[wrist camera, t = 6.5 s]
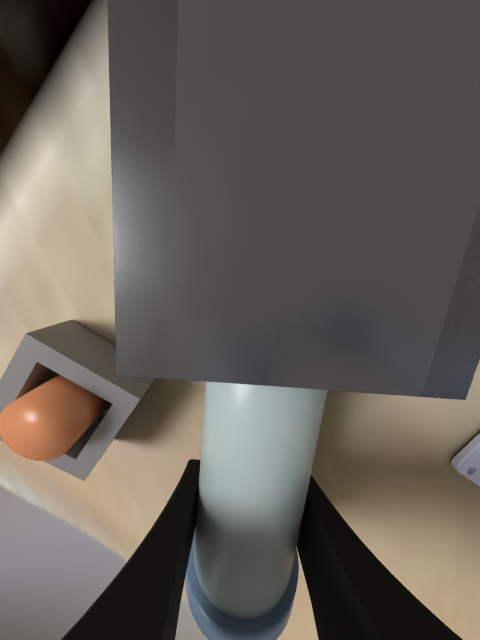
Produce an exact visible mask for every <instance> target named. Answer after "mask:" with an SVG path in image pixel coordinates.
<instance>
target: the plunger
mask: <svg viewBox="0 0 480 640" xmlns="http://www.w3.org/2000/svg"><path fill="white" fill-rule="evenodd" d="M110 404H111V403H110V402H108V401H106V400H105V399H103V398H101V397H99V396H97V395H96V394H94V393H92V392H90V391H88V390H87V389H85V388H83V387H81V386H79V385H78V384H76V383H74V382H72V381H71V380H69V379H67V378H65V377H63V376H62V375H60V374H58V375H57V376H55V377H53V378H52V379H50V380H48V381H47V382H45V383H43V384H42V385H40V386H38V387H37V388H35V389H33V390H32V391H30V392H28V393H27V394H25V395H23V396H22V397H20V398H18V399H17V400H15V401H13V402H12V403H10V404H9V405H7V406H6V407H5V408H4V409H3V411H2V412H1V414H0V436H1V438H2V439H3V441H4V442H5V444H6V445H7V446H8V447H9V448H10V449H11V450H12V451H14V452H15V453H17V454H18V455H20V456H22V457H25V458H28V459H31V460H37V461H47V460H53V459H56V458H58V457H60V456H62V455H63V454H65V453H66V452H67V451H68V450H69V449H70V448H71V447H72V445H73V444H74V443H75V442H76V441H77V440H78V439H79V438H80V437H81V436H82V435H83V433H84V432H85V431H86V430H87V429H88V428H89V427H90V426H91V425H92V424H93V422H94V421H95V420H96V419H97V418H98V417H99V416H100V415H101V414H102V413H103V412H104V410H105V409H106V408H107V407H108V406H109V405H110Z"/></svg>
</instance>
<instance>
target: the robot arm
mask: <svg viewBox="0 0 480 640" xmlns="http://www.w3.org/2000/svg"><path fill="white" fill-rule="evenodd" d="M451 465H452V467H453V468H454V469H455V470H456V471H457V472H459V473H460V474H461V475H463V476H464V477H466V478H467V479H469V480H470V481H472V482H473V483H475V484H476V485H477V486H479V487H480V433H479V434H478V435H477V436H476V437H475V438H474V439H473V440H472V441H470V442H469V443H468V444H467V445H466V446H465V447H464V448H463V449H462V450H461V451H460V452H459V453H458V454H457V455H456V456H455V457H454V458H453V459H452V461H451ZM199 475H200V460H193V459H191V460H189V461H188V463H187V466H186V468H185V471H184V473H183V475H182V477H181V479H180V481H179V483H178V485H177V487H176V489H175V490H174V492H173V494H172V496H171V498H170V499H169V501H168V503H167V505H166V506H165V508H164V509H163V511H162V513H161V514H160V516H159V517H158V519H157V521H156V522H155V524H154V525H153V527H152V528H151V530H150V531H149V533H148V534H147V536H146V537H145V538H144V540H143V541H142V543H141V544H140V545H139V547H138V548H137V550H136V551H135V552H134V554H133V555H132V556H131V558H130V559H129V560H128V562H127V563H126V564H125V566H124V567H123V568H122V569H121V571H120V572H119V573H118V575H117V576H116V577H115V578H114V580H113V581H112V582H111V583H110V585H109V586H108V587H107V588H106V589H105V590H104V592H103V593H102V594H101V595H100V596H99V597H98V599H97V600H96V601H95V602H94V603H93V605H92V606H91V607H90V608H89V609H88V611H87V612H86V613H85V614H84V615H83V616H82V617H81V618H80V620H79V621H78V622H77V623H76V624H75V625H74V626H73V627H72V628H71V630H69V632H68V633H67V634H66V635H65V636H64V637H63V638H62V639H61V640H175V635H176V628H177V621H178V615H179V608H180V602H181V596H182V591H183V585H184V581H185V576H186V571H187V566H188V561H189V557H190V552H191V547H192V542H193V537H194V533H195V528H196V518H197V503H198V489H199ZM297 549H298V553H299V557H300V560H301V564H302V568H303V572H304V575H305V579H306V583H307V587H308V591H309V595H310V599H311V603H312V608H313V613H314V618H315V623H316V628H317V633H318V638H319V640H463V639H461V638H460V637H459V636H458V635H457V634H455V633H454V632H453V631H452V630H451V629H450V628H448V627H447V626H446V625H445V624H444V623H443V622H442V621H441V620H440V619H438V618H437V617H436V616H435V615H434V614H433V613H432V612H431V611H430V610H429V609H427V608H426V607H425V606H424V605H423V604H422V603H421V602H420V601H419V600H418V599H417V598H416V597H415V596H414V595H413V594H412V593H411V592H410V591H409V590H408V589H407V588H406V587H405V586H403V585H402V584H401V583H400V582H399V581H398V580H397V579H396V578H395V577H394V576H393V575H392V574H391V573H390V572H389V571H388V569H387V568H386V567H385V566H384V565H383V564H382V563H381V562H380V561H379V560H378V559H377V558H376V557H375V556H374V554H373V553H372V552H371V551H370V550H369V549H368V548H367V547H366V546H365V544H364V543H363V542H362V541H361V540H360V539H359V537H358V536H357V535H356V534H355V533H354V531H353V530H352V529H351V528H350V527H349V525H348V524H347V523H346V522H345V520H344V519H343V518H342V516H341V515H340V514H339V513H338V511H337V510H336V509H335V507H334V506H333V505H332V503H331V502H330V501H329V499H328V498H327V497H326V495H325V494H324V492H323V491H322V490H321V488H320V487H319V485H318V484H317V483H316V481H315V480H314V478H313V477H312V475H311V476H310V481H309V486H308V491H307V496H306V501H305V506H304V511H303V516H302V521H301V526H300V531H299V536H298V541H297Z"/></svg>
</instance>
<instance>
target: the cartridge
mask: <svg viewBox="0 0 480 640" xmlns="http://www.w3.org/2000/svg"><path fill="white" fill-rule="evenodd" d="M327 391H328V390H319V389H305V388H290V387H276V386H262V385H248V384H234V383H220V382H206V389H205V403H204V417H203V432H202V446H201V460H200V475H199V489H198V503H197V518H196V528H195V533H194V537H193V542H192V547H191V552H190V557H189V561H188V566H187V571H186V590H187V597H188V601H189V605H190V608H191V611H192V614H193V616H194V619H195V621H196V623H197V625H198V626H199V628H200V629H201V631H202V633H203V634H204V635H205V636H206V637H207V638H208V640H276V639H277V638H278V637H279V636H280V634H281V633H282V631H283V630H284V628H285V626H286V624H287V622H288V619H289V617H290V614H291V610H292V606H293V602H294V597H295V592H296V587H297V581H298V571H299V564H298V554H297V549H296V546H297V541H298V536H299V531H300V526H301V521H302V516H303V511H304V506H305V501H306V496H307V491H308V486H309V481H310V476H311V471H312V466H313V461H314V456H315V451H316V446H317V441H318V436H319V431H320V426H321V421H322V416H323V411H324V406H325V401H326V396H327Z"/></svg>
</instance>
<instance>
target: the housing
mask: <svg viewBox="0 0 480 640" xmlns="http://www.w3.org/2000/svg"><path fill="white" fill-rule="evenodd" d="M108 40H109V81H110V123H111V165H112V206H113V248H114V290H115V331H116V373H117V375H121V376H135V377H149V378H163V379H178V380H192V381H206V382H220V383H234V384H248V385H262V386H276V387H290V388H305V389H319V390H333V391H347V392H361V393H375V394H389V395H403V396H417V397H432V398H446V399H460V400H465V399H466V396H467V394H468V391H469V388H470V385H471V382H472V379H473V376H474V373H475V371H476V368H477V365H478V362H479V359H480V0H108Z"/></svg>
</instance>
